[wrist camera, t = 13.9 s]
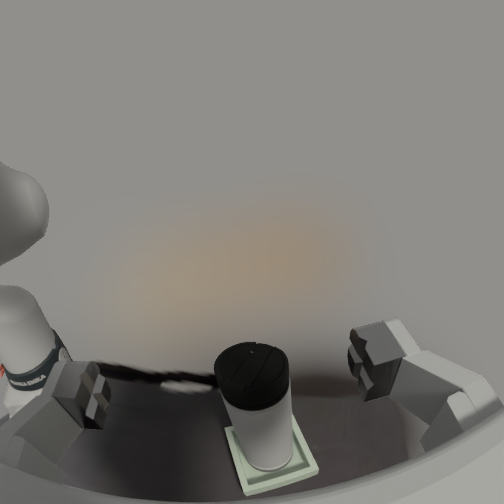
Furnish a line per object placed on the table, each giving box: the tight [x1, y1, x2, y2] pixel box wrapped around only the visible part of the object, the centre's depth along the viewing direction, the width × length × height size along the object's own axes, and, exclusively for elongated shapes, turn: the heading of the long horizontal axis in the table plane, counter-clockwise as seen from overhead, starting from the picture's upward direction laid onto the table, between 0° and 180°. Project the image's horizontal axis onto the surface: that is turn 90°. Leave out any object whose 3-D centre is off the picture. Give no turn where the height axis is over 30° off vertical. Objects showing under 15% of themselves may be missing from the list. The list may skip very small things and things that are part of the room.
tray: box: [225, 414, 319, 496], centre depth 32 cm, size 9×10×2 cm
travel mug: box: [214, 342, 293, 472], centre depth 27 cm, size 6×7×20 cm
